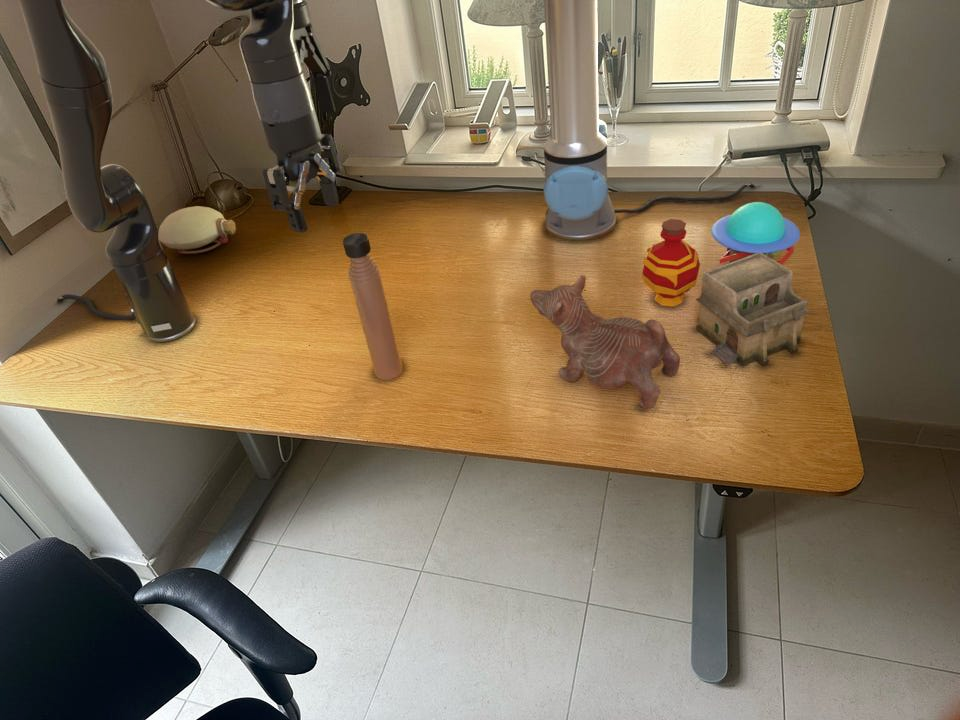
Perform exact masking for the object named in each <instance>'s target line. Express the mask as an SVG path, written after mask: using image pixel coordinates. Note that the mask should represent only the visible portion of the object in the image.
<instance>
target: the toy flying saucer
mask: <svg viewBox="0 0 960 720" xmlns="http://www.w3.org/2000/svg"><path fill="white" fill-rule="evenodd" d="M711 236H712V237H713V239H714V240H715V242H717V243H719V245H721V246H723V247H725V248H726V252H725V253H724V254H723V255H722V257H721V258H719V265H721V264H725V263H731V262H734V261H737V260H739V259H742V258H745V257H748V256H751V255H753V254H756V253H759V252H761V253H762V254H764V255H766V256H767V257H769V258H771V259H772V260H774V261H775V258H774V257H775V256H776V255H778V254H779V253H781V252H782V251H785V250H786V253H785V254H784V255H783V256H782V257H781V259H779V260H777V261H776V262H778V263H779V264H781V265H784V264H785V262H786V261H788V260H789V258H790V257H791V256H792V255H793V254H794V250H795V247H794V245H795V244H796V243H797V242H799V240H800V238H801V231H800V229H799V227H798V226H797V225H796V224H795V223H794V222H793V221H792V220H790V219H788V218H786V217H784V216H783V214H782V213H781V212H780V210H778V208H776V207H775V206H773V205H771V204H769V203H767V202H763V201H762V202H761V201H754V202H749V203H746V204H743V205H741V206H740V207H738V208H737V209H736V210H734V211H733V213H732V214H727V215H726V216H723V217H721V218H719V219H718V220H716V221H715V222H714V223H713V225H712V227H711Z"/></svg>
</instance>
